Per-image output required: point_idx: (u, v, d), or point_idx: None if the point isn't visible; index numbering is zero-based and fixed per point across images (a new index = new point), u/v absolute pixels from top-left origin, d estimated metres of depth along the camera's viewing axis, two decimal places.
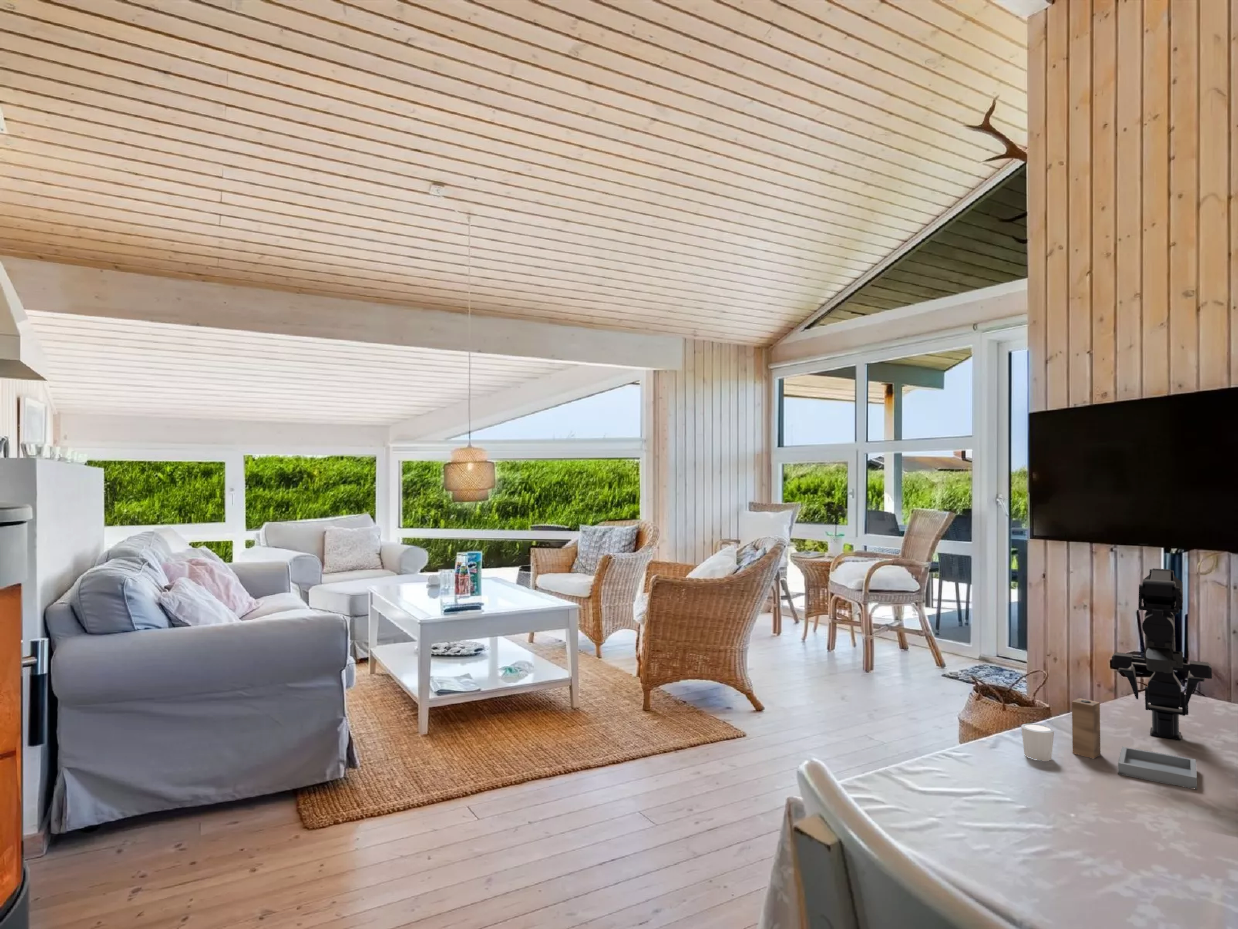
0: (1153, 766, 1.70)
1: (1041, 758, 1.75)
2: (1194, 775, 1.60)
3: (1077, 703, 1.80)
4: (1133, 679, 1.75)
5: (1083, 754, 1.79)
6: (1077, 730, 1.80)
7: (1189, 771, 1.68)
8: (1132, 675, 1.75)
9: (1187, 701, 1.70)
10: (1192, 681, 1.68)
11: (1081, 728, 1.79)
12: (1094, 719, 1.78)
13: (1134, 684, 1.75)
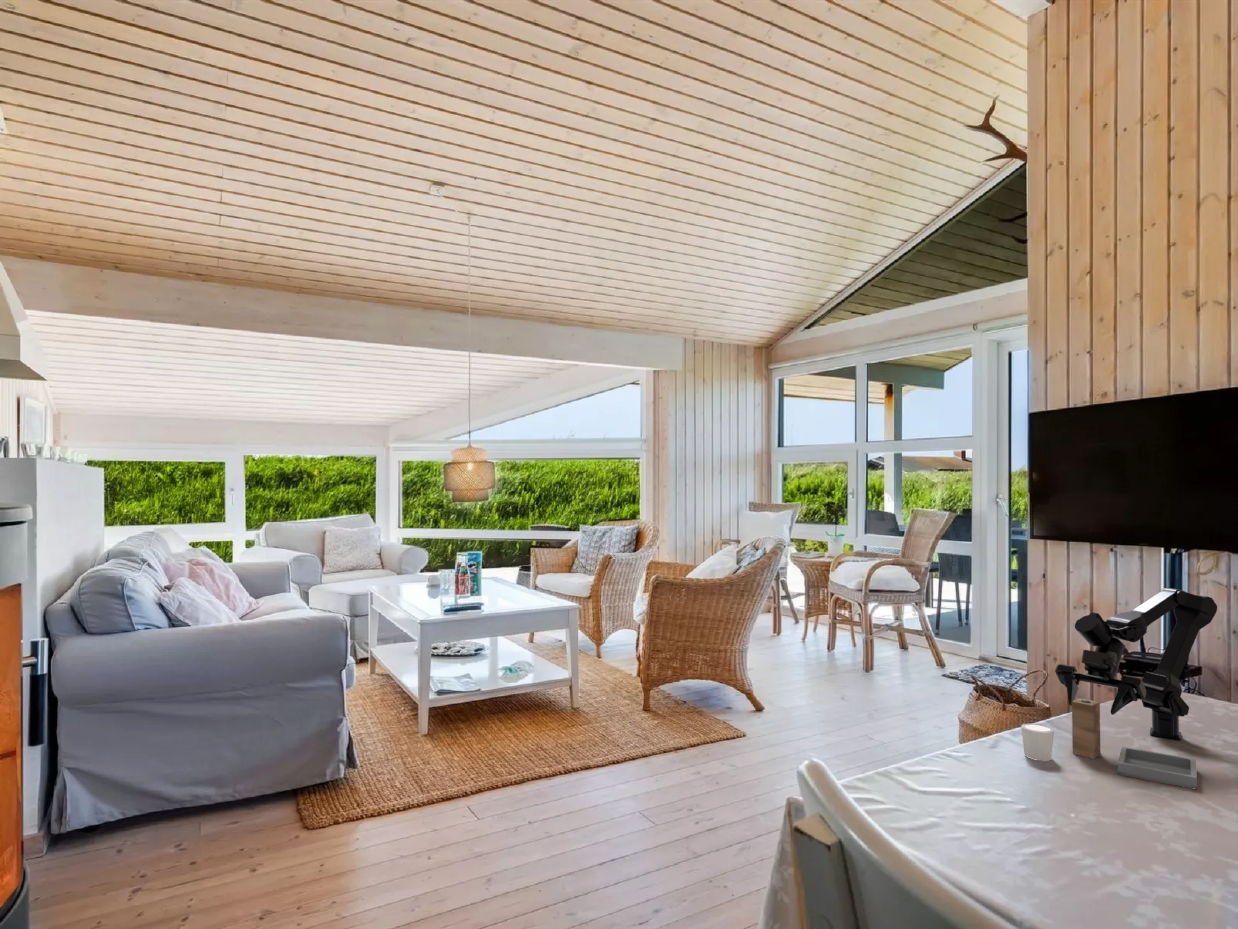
0: (1153, 766, 1.70)
1: (1041, 758, 1.75)
2: (1194, 775, 1.60)
3: (1077, 703, 1.80)
4: (1071, 685, 1.88)
5: (1083, 754, 1.79)
6: (1077, 730, 1.80)
7: (1189, 771, 1.68)
8: (1070, 680, 1.89)
9: (1113, 707, 1.79)
10: (1121, 687, 1.80)
11: (1081, 728, 1.79)
12: (1094, 719, 1.78)
13: (1070, 689, 1.88)
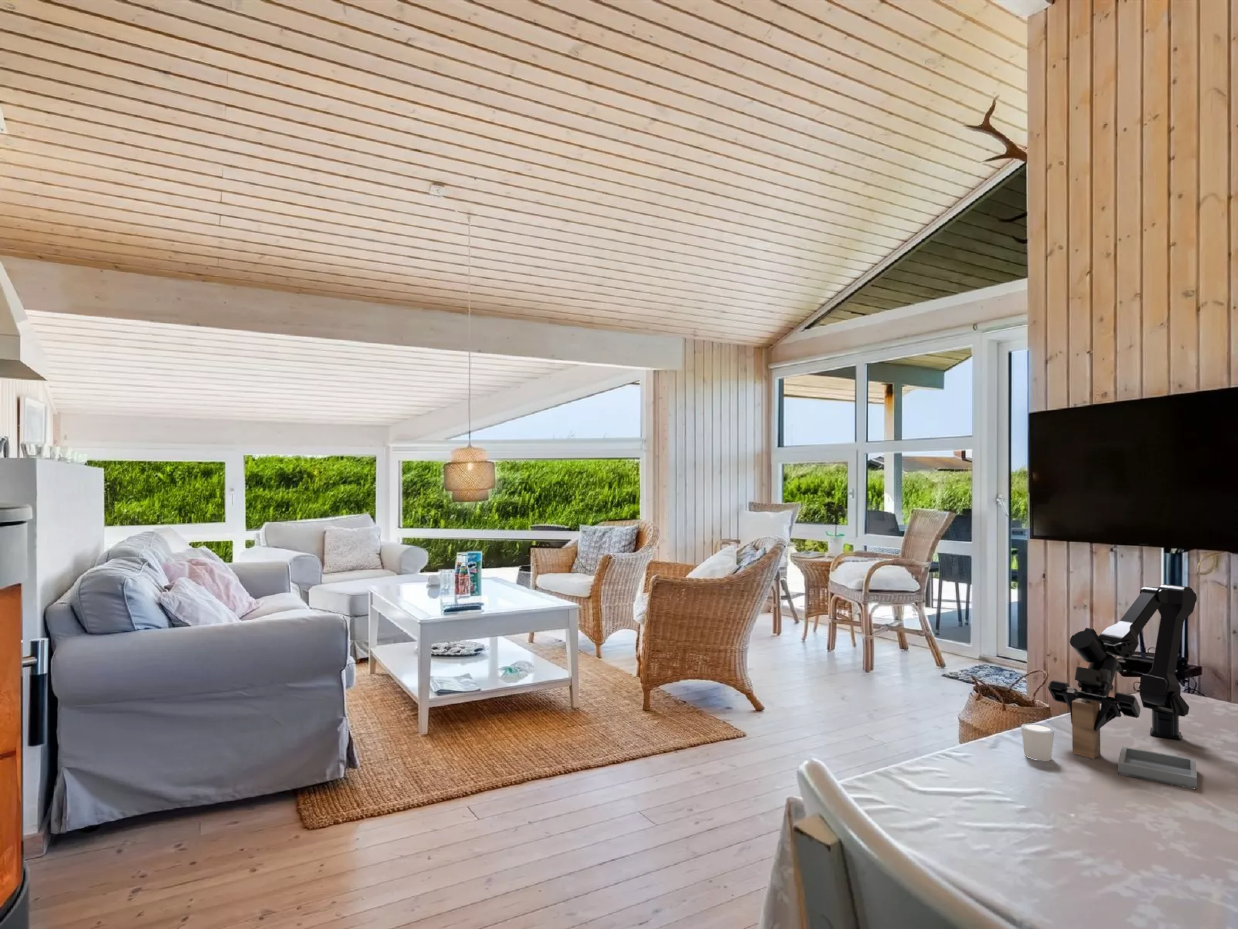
0: (1153, 766, 1.70)
1: (1041, 758, 1.75)
2: (1194, 775, 1.60)
3: (1077, 703, 1.80)
4: None
5: (1083, 754, 1.79)
6: (1077, 729, 1.80)
7: (1189, 771, 1.68)
8: (1073, 699, 1.84)
9: (1096, 724, 1.78)
10: (1105, 703, 1.78)
11: (1081, 728, 1.79)
12: (1094, 719, 1.78)
13: None
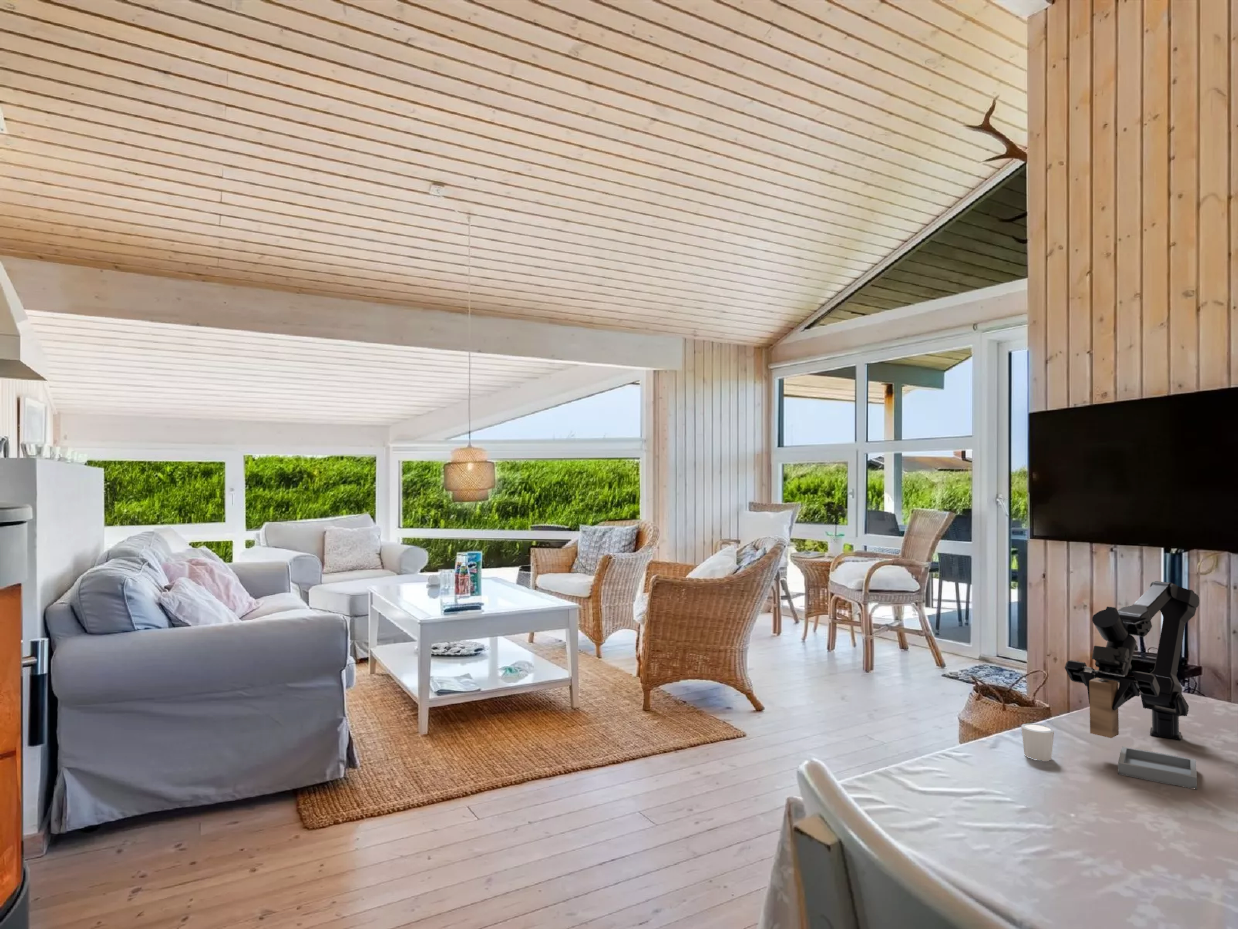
0: (1153, 766, 1.70)
1: (1041, 758, 1.75)
2: (1194, 775, 1.60)
3: (1094, 682, 1.77)
4: None
5: (1101, 734, 1.76)
6: (1094, 709, 1.77)
7: (1189, 771, 1.68)
8: (1091, 679, 1.81)
9: (1115, 703, 1.75)
10: (1123, 682, 1.76)
11: (1099, 708, 1.76)
12: (1112, 698, 1.75)
13: None
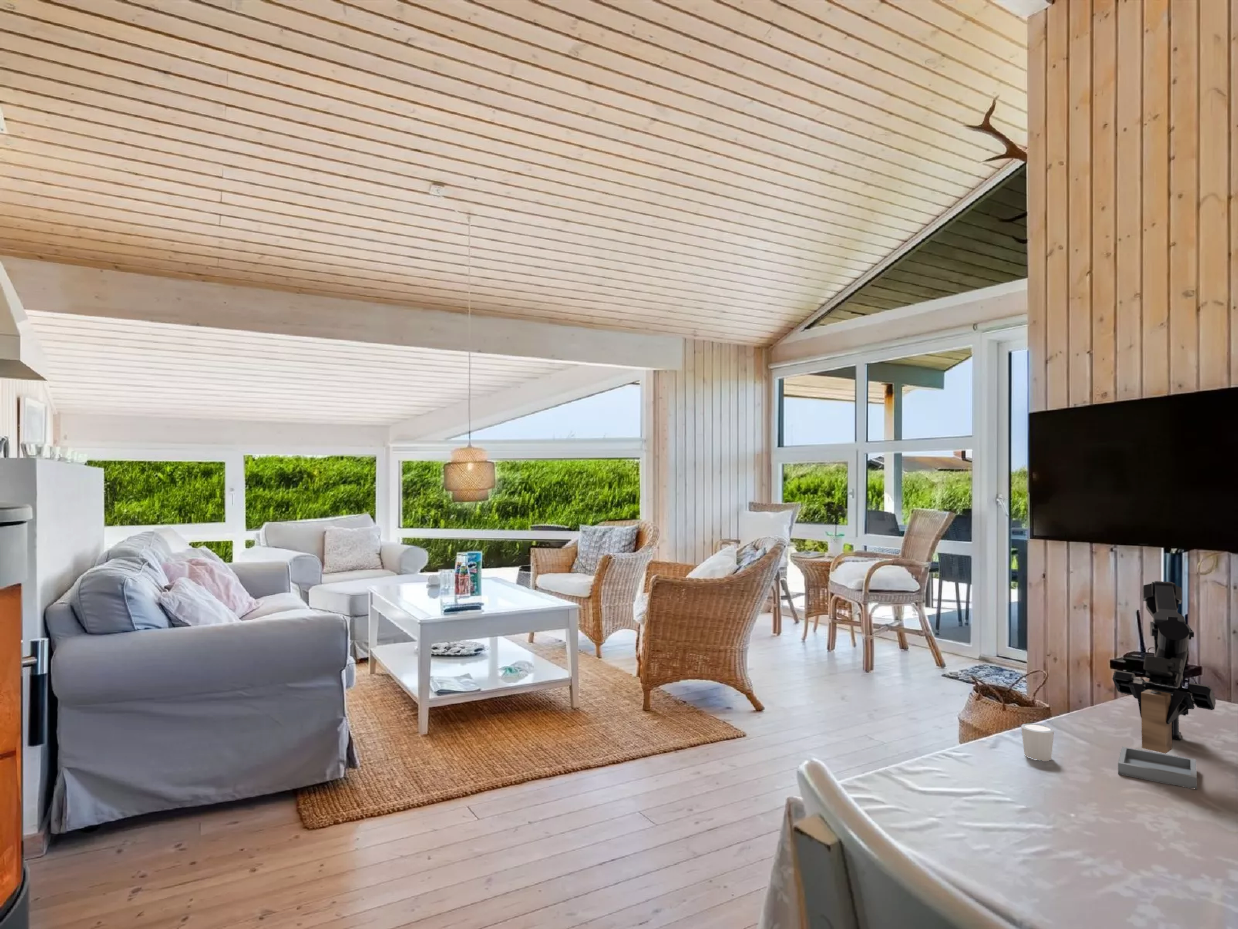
0: (1153, 766, 1.70)
1: (1041, 758, 1.75)
2: (1194, 775, 1.60)
3: (1147, 694, 1.68)
4: None
5: (1154, 749, 1.67)
6: (1147, 723, 1.68)
7: (1189, 771, 1.68)
8: (1141, 691, 1.72)
9: (1169, 716, 1.66)
10: (1177, 695, 1.67)
11: (1152, 722, 1.68)
12: (1166, 711, 1.66)
13: None
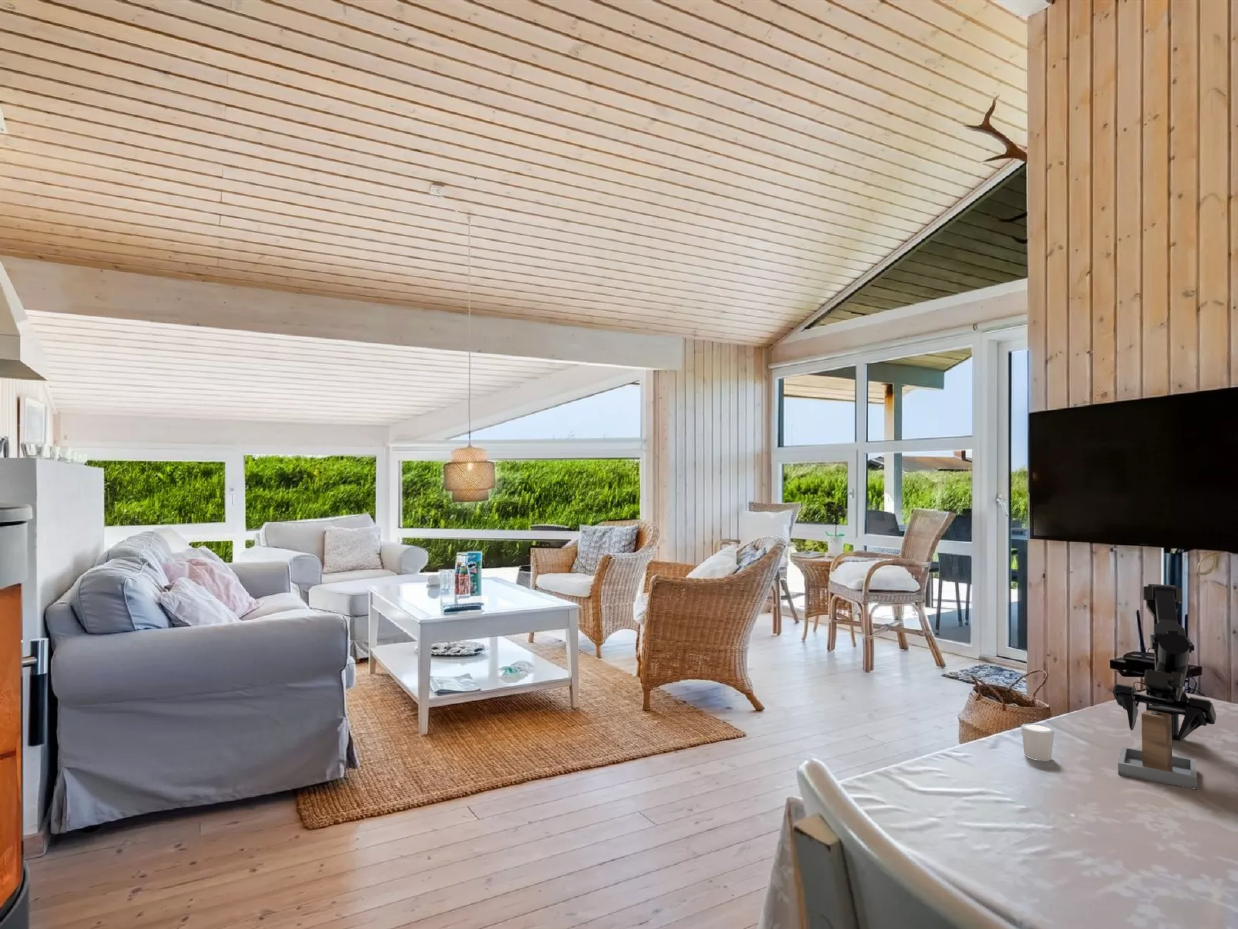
0: None
1: (1041, 758, 1.75)
2: (1194, 775, 1.60)
3: (1147, 715, 1.68)
4: (1131, 707, 1.74)
5: None
6: (1147, 744, 1.68)
7: (1189, 771, 1.68)
8: (1131, 702, 1.74)
9: (1181, 733, 1.64)
10: (1189, 711, 1.65)
11: (1152, 743, 1.67)
12: (1166, 733, 1.66)
13: (1131, 712, 1.73)
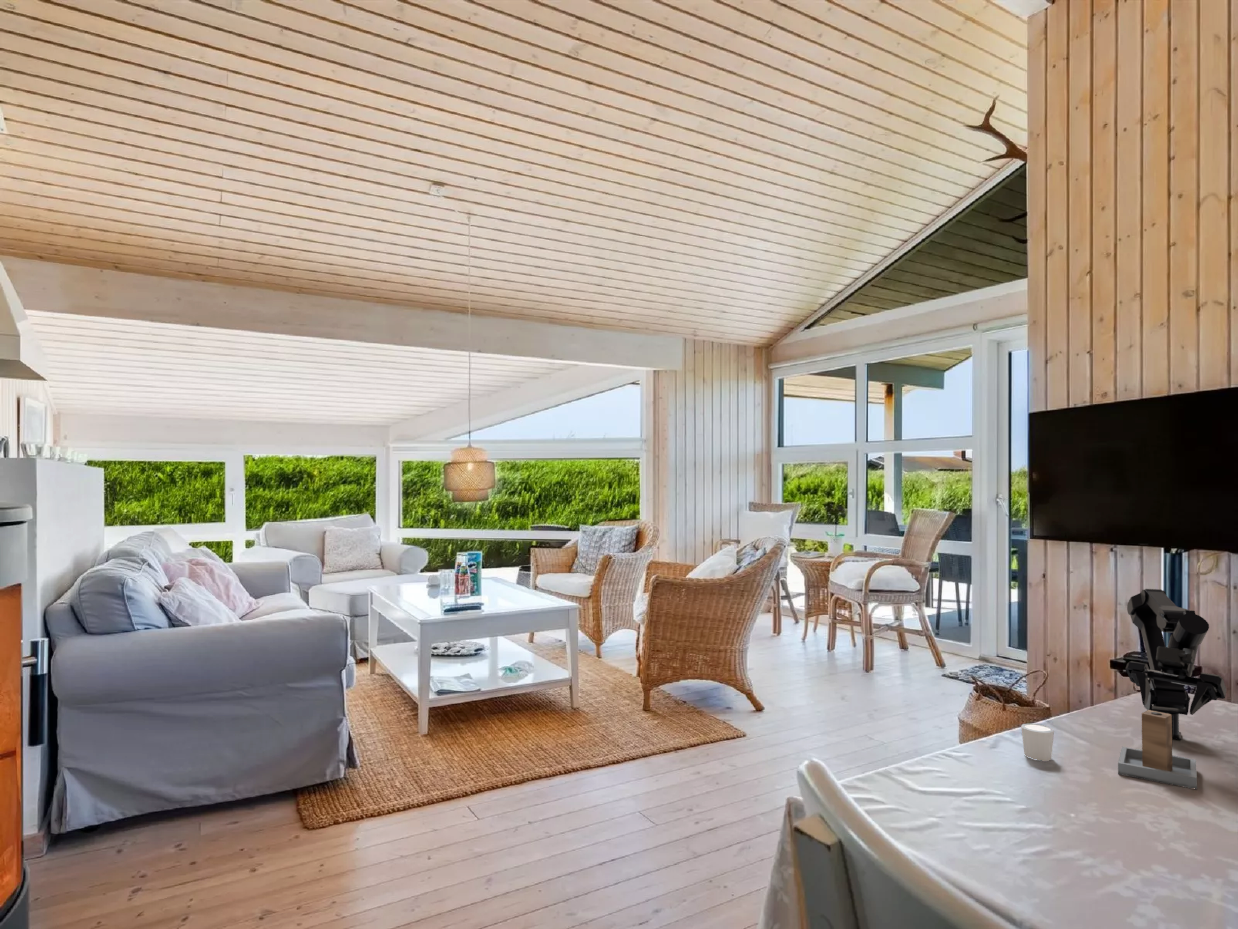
0: None
1: (1041, 758, 1.75)
2: (1194, 775, 1.60)
3: (1147, 715, 1.68)
4: (1144, 683, 1.79)
5: None
6: (1147, 744, 1.68)
7: (1189, 771, 1.68)
8: (1143, 678, 1.80)
9: (1192, 707, 1.70)
10: (1200, 686, 1.71)
11: (1153, 743, 1.67)
12: (1166, 733, 1.66)
13: (1143, 688, 1.79)
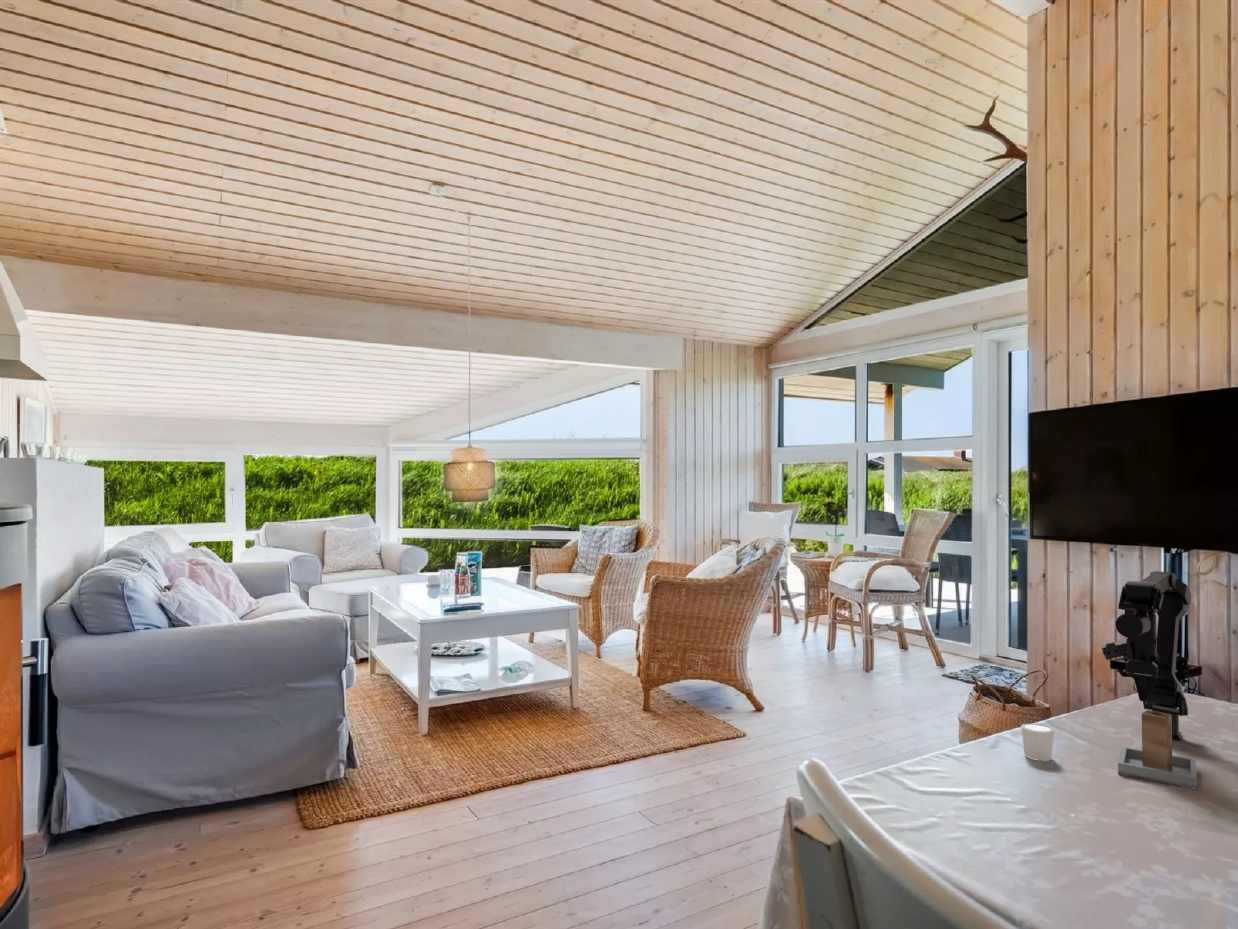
0: None
1: (1041, 758, 1.75)
2: (1194, 775, 1.60)
3: (1147, 715, 1.68)
4: None
5: None
6: (1147, 744, 1.68)
7: (1189, 771, 1.68)
8: None
9: (1138, 695, 1.80)
10: None
11: (1153, 743, 1.67)
12: (1166, 733, 1.66)
13: None
